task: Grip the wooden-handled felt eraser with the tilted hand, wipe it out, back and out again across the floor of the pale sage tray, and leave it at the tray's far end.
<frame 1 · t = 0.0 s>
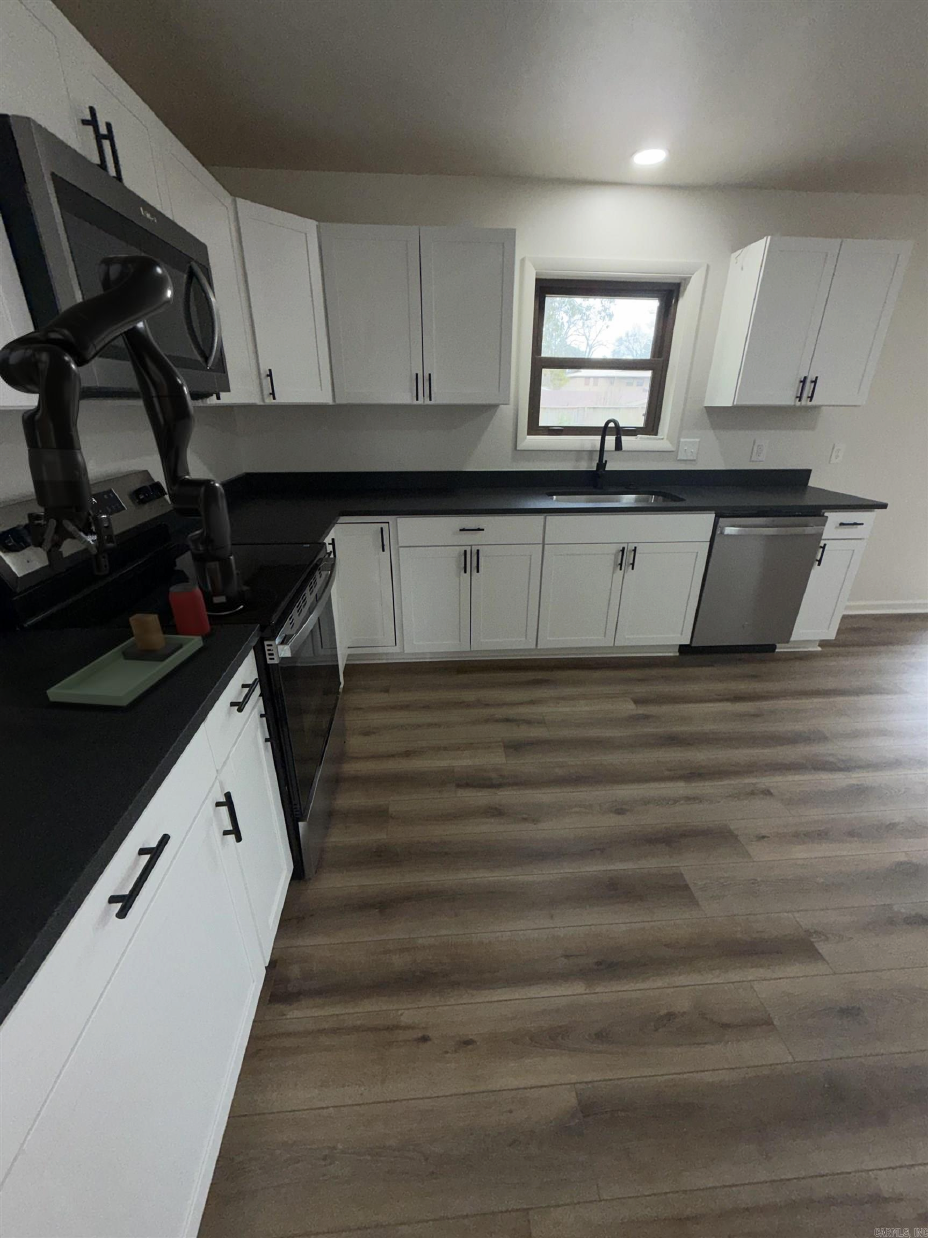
hand: (80, 573, 87), 22 cm above the counter, tool pointing down, fingers open, 8 cm apart
beer can: (195, 635, 115), on the counter
eraser: (154, 655, 104), point 1 cm above the counter, touching tray
tray: (135, 674, 99), on the counter
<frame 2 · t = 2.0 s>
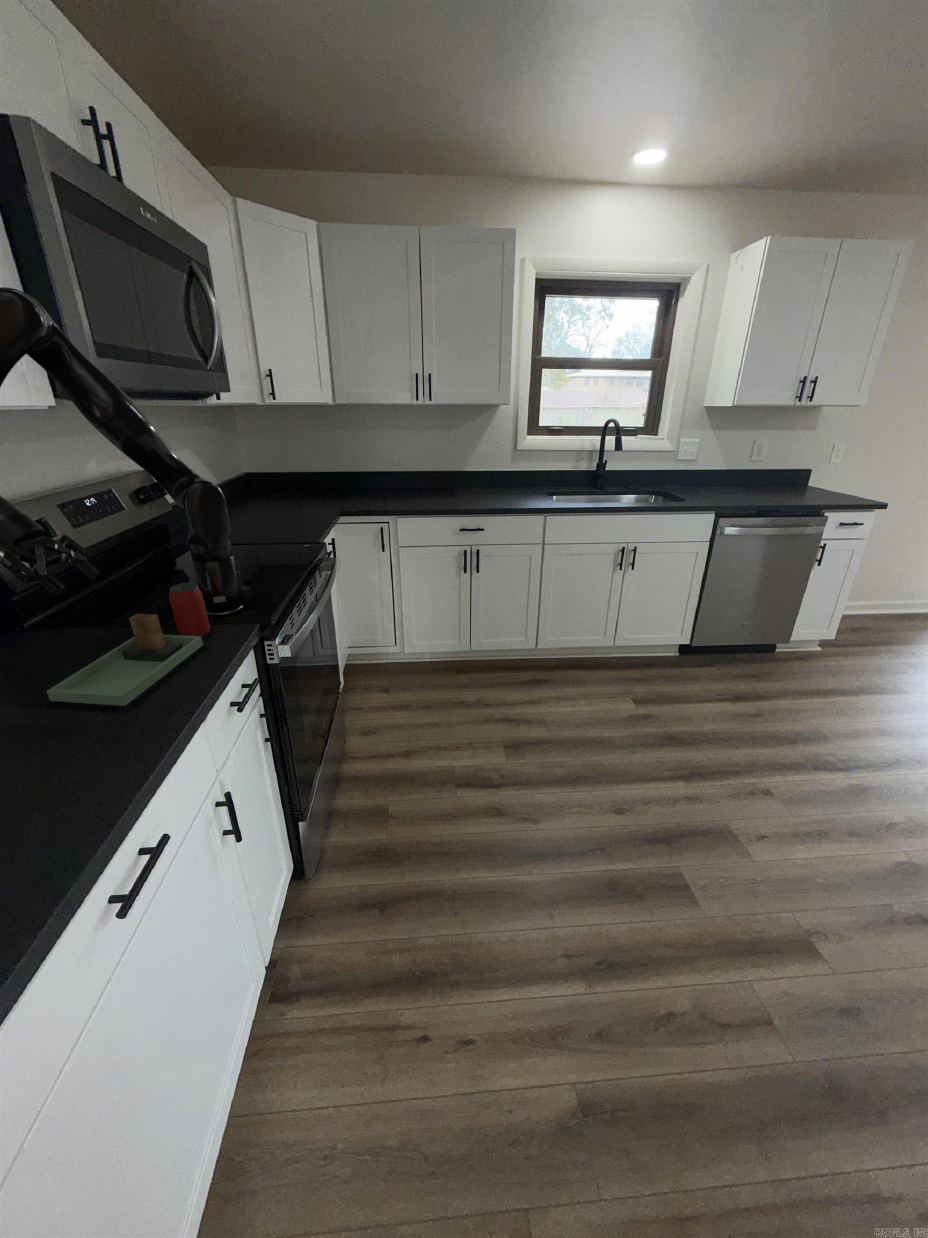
hand: (80, 584, 99), 17 cm above the counter, tool tilted 45°, fingers open, 8 cm apart
nothing on the counter moved.
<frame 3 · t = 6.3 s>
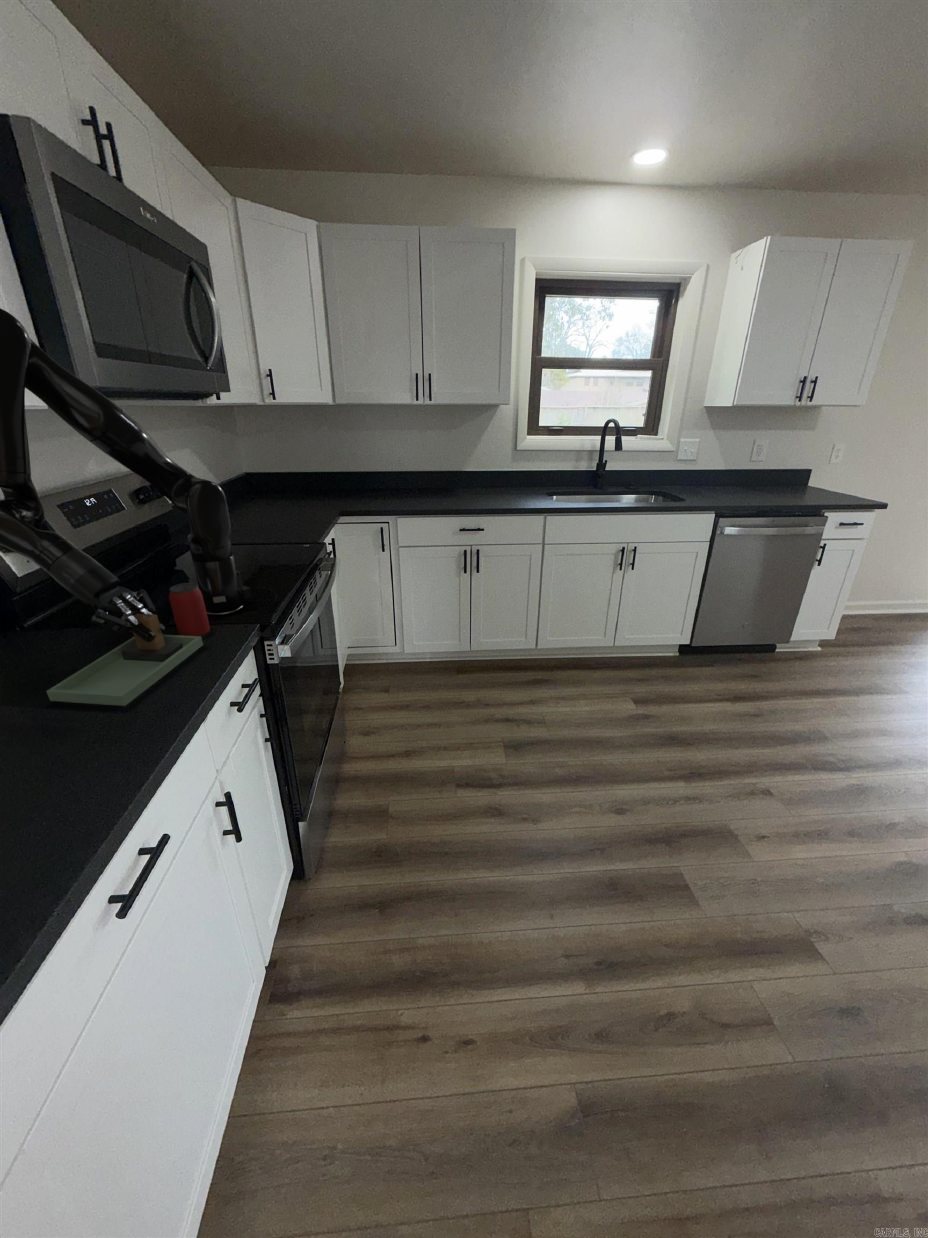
hand: (157, 635, 102), 6 cm above the counter, tool tilted 45°, fingers closed on eraser, 2 cm apart
eraser: (154, 655, 104), point 1 cm above the counter, touching gripper, tray
everything else where it was.
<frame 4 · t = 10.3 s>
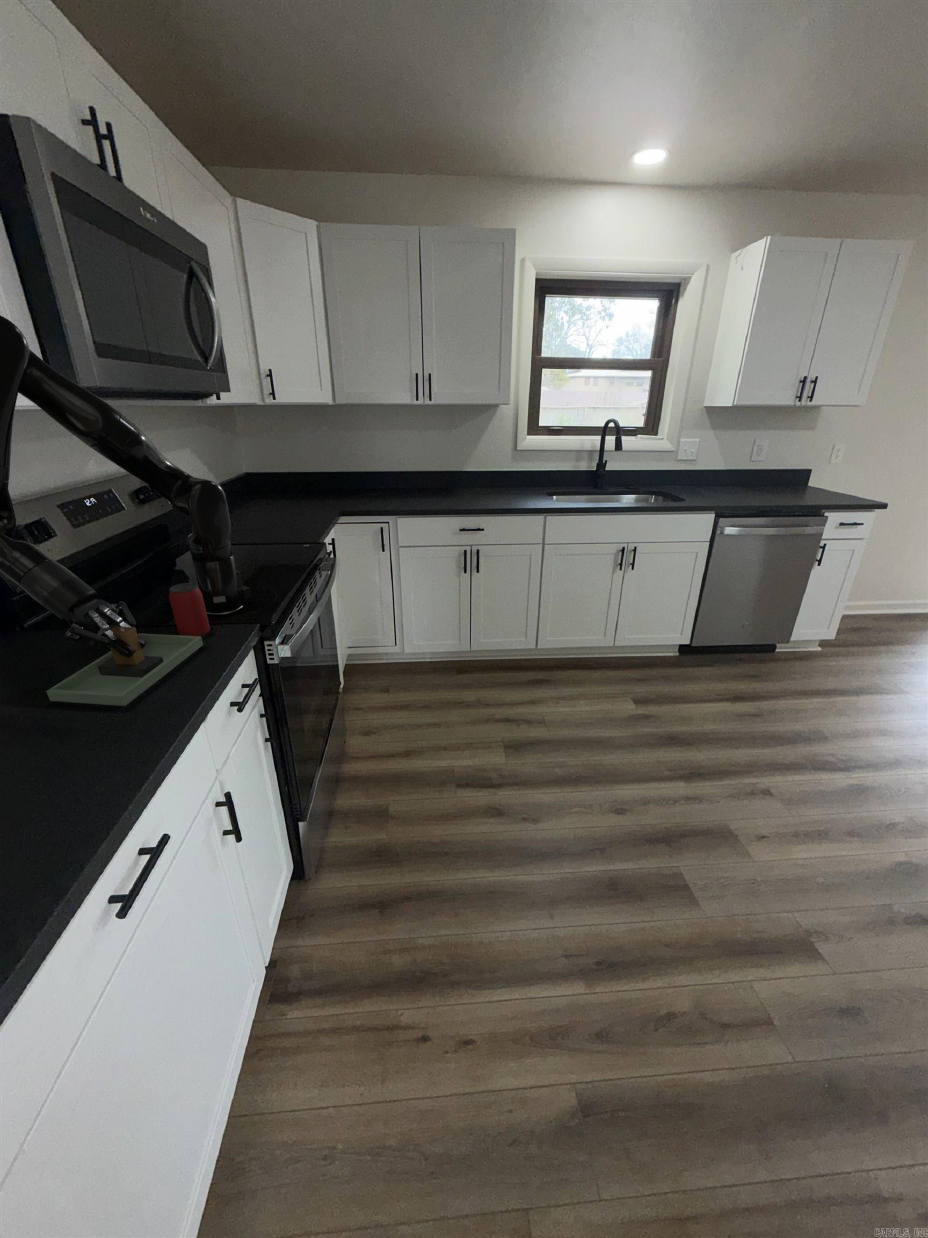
hand: (137, 650, 97), 5 cm above the counter, tool tilted 45°, fingers closed on eraser, 2 cm apart
eraser: (133, 670, 99), point 1 cm above the counter, touching gripper
everything else where it was.
when the fingers open (5 cm above the counter, at t = 14.1 s): eraser stays where it is, resting on tray.
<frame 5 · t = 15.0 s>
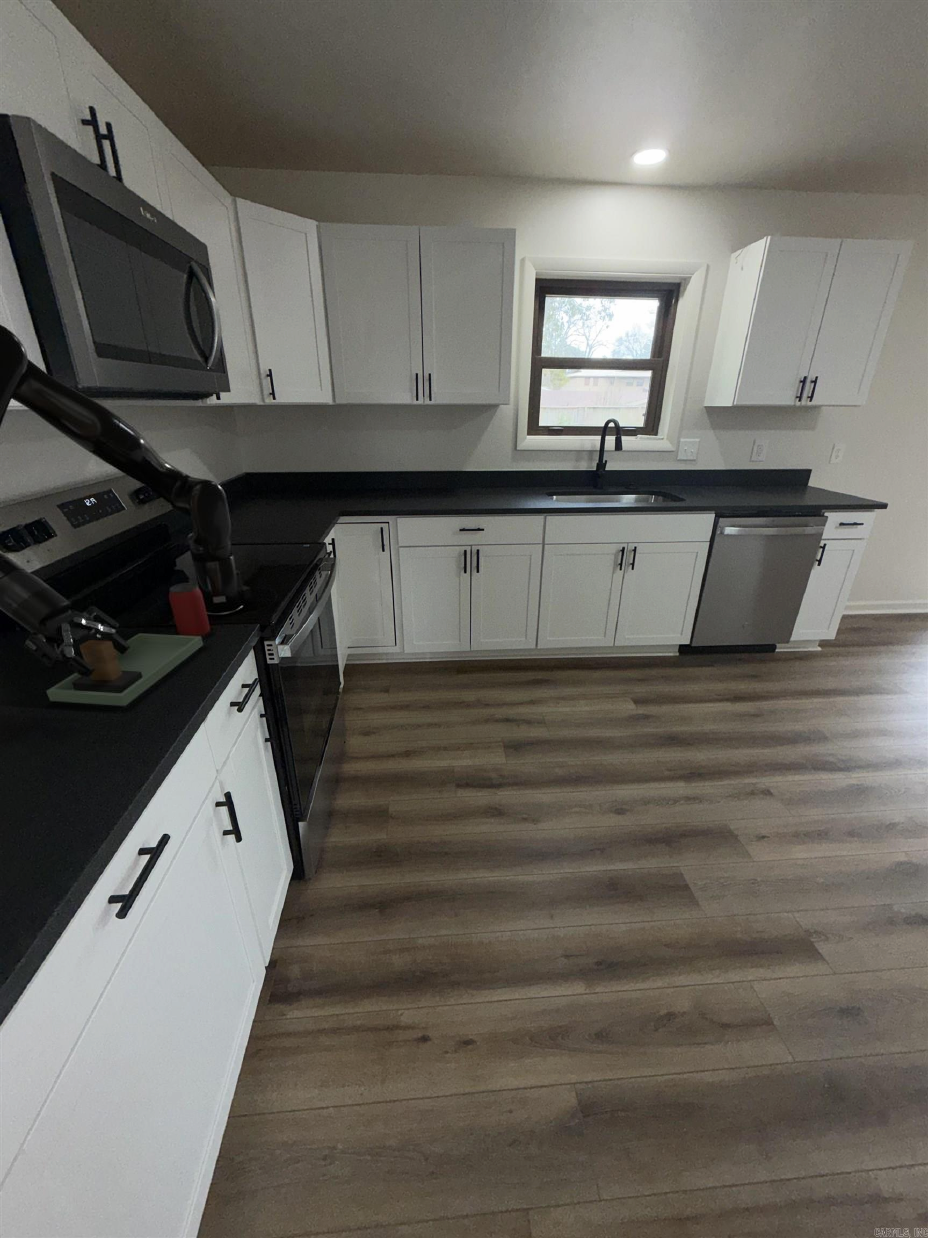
hand: (109, 661, 91), 6 cm above the counter, tool tilted 45°, fingers open, 8 cm apart
eraser: (110, 685, 93), point 1 cm above the counter, touching tray
everything else where it was.
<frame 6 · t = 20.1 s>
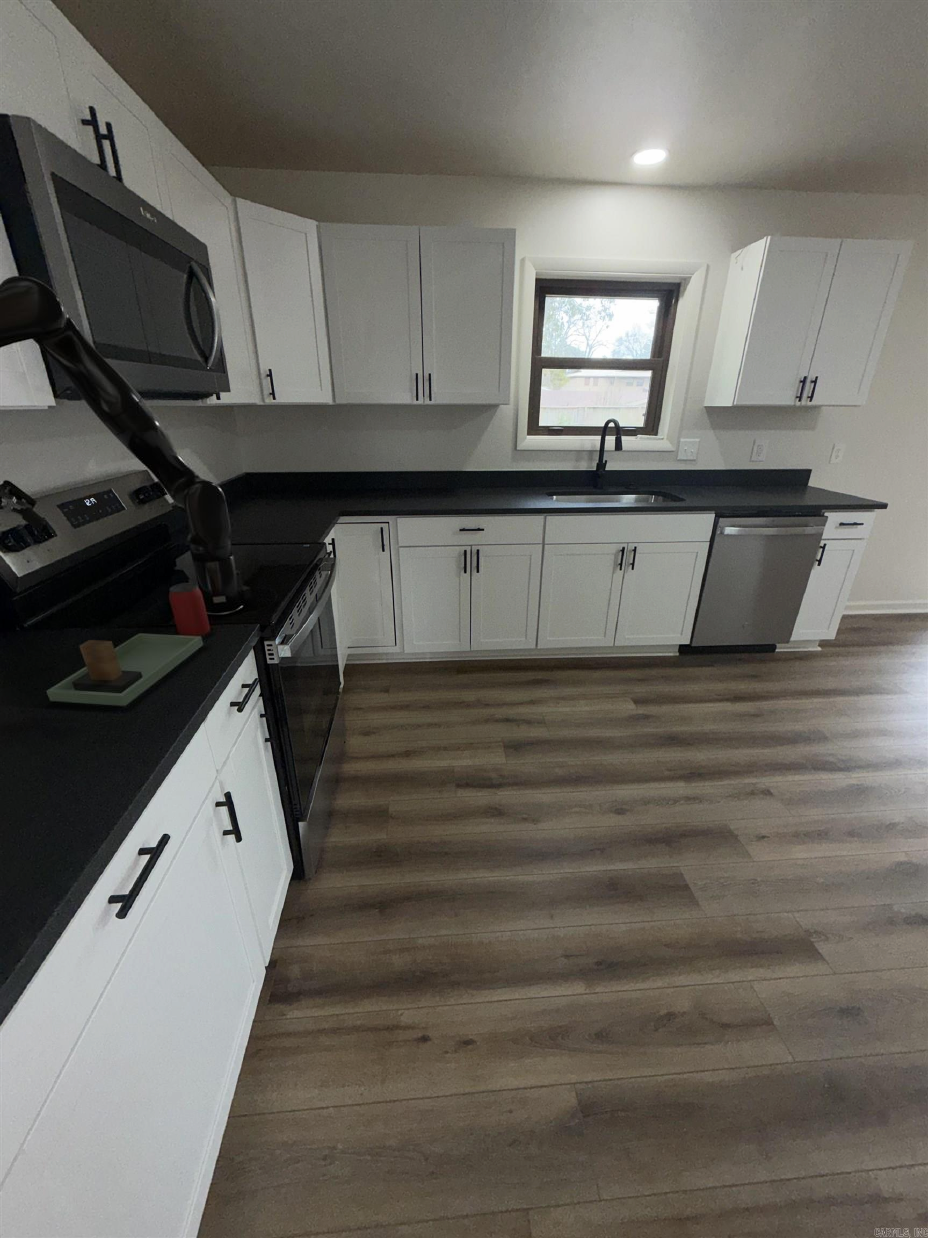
hand: (22, 533, 87), 29 cm above the counter, tool tilted 45°, fingers open, 8 cm apart
nothing on the counter moved.
at the end: eraser 0.4 cm from the target spot in the tray, point 1.0 cm above the tray's base; eraser tilted 0°; the gripper is holding nothing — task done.
